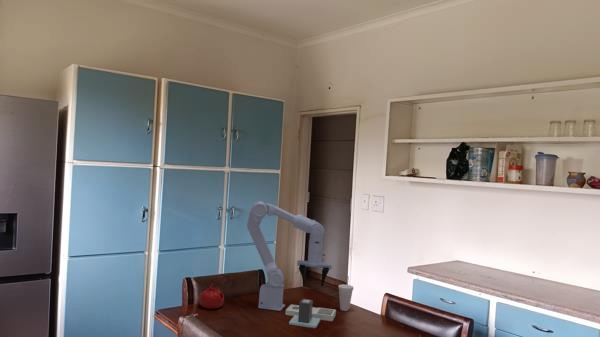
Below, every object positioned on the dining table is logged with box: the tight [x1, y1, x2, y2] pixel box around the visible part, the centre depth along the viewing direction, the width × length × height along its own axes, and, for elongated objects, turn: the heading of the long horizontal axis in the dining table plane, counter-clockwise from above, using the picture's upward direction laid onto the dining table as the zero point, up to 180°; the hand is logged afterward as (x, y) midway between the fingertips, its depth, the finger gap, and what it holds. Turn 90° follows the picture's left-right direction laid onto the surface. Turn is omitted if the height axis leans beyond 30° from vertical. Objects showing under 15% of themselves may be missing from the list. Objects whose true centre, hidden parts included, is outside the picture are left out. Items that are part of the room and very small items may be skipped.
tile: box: [288, 315, 321, 329], centre depth 163 cm, size 10×9×1 cm
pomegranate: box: [199, 282, 225, 310], centre depth 175 cm, size 10×10×9 cm
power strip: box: [285, 303, 337, 322], centre depth 173 cm, size 18×9×2 cm, turn 77°
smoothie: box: [338, 275, 354, 312], centre depth 183 cm, size 6×6×14 cm
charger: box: [298, 298, 314, 323], centre depth 163 cm, size 4×6×7 cm
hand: (313, 284), depth 181 cm, fingers open, 7 cm apart
